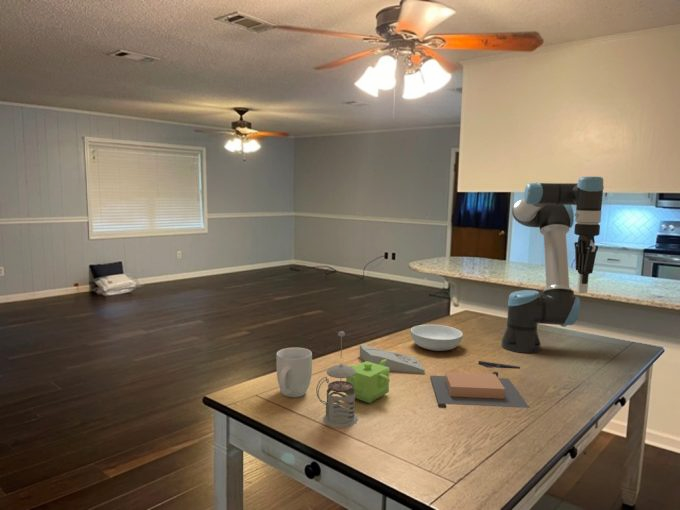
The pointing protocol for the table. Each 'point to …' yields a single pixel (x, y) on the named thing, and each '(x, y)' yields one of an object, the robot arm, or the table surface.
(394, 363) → the ramp
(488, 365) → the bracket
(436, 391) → the mat
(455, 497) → the table surface
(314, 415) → the table surface
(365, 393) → the teapot
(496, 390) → the tile
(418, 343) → the serving bowl
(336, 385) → the french press
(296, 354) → the mug
